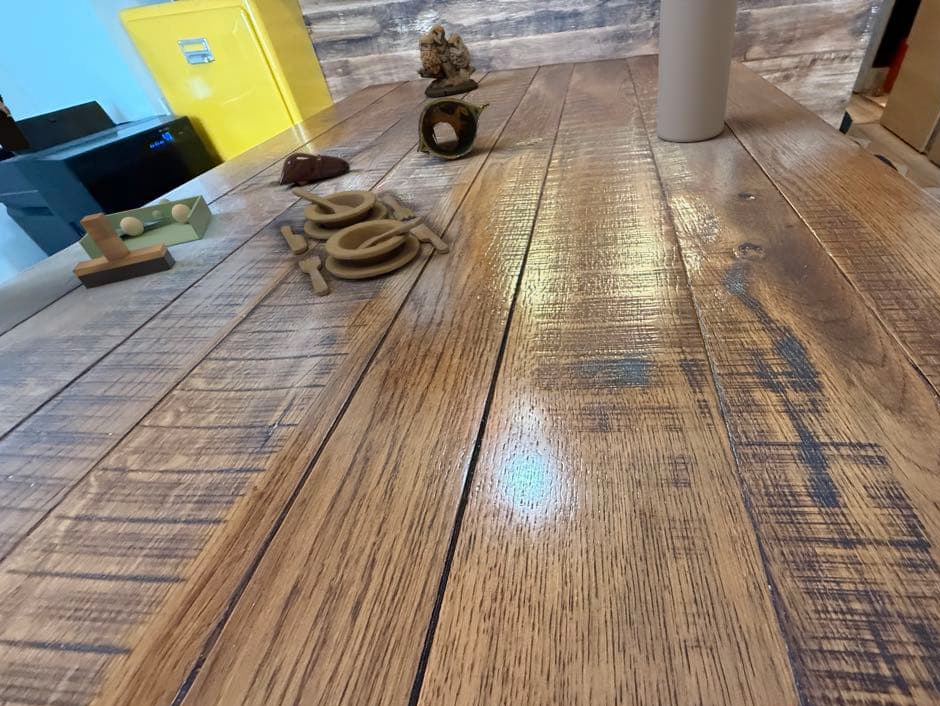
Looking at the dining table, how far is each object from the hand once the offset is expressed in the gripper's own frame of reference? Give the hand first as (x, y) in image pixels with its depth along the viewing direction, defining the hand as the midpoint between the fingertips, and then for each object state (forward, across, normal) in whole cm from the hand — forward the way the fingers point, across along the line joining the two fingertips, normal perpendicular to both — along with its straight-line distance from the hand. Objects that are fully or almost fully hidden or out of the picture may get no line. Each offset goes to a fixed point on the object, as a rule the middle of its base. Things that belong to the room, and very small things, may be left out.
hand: (3, 158), depth 68 cm
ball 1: (+16, -16, +3) cm, 23 cm away
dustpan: (+17, -16, +7) cm, 25 cm away
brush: (+17, +2, +7) cm, 19 cm away
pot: (+16, -25, +63) cm, 70 cm away
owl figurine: (+15, -92, +75) cm, 120 cm away
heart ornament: (+17, -28, +35) cm, 48 cm away
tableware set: (+16, +11, +41) cm, 46 cm away
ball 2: (+15, -17, +11) cm, 26 cm away
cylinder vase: (+14, -3, +106) cm, 107 cm away
